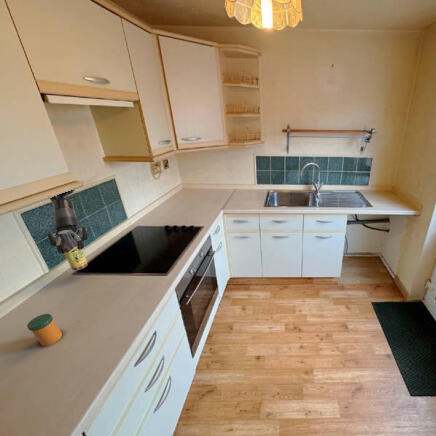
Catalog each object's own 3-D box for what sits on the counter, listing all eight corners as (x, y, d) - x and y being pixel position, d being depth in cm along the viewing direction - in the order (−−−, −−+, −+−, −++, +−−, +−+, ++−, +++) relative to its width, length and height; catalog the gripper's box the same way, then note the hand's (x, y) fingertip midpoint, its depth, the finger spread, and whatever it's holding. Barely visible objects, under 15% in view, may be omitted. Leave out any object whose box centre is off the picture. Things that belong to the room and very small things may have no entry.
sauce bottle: (82, 270, 110) (64, 235, 101) (68, 271, 110) (49, 236, 101) (92, 262, 116) (75, 228, 107) (79, 263, 115) (61, 228, 107)
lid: (31, 334, 76) (29, 330, 76) (27, 325, 79) (24, 322, 79) (55, 321, 81) (53, 318, 80) (50, 314, 84) (48, 311, 83)
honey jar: (43, 349, 80) (30, 331, 76) (39, 341, 83) (26, 323, 79) (64, 337, 84) (52, 319, 80) (59, 329, 87) (48, 312, 83)
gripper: (41, 220, 104) (46, 254, 100) (81, 213, 111) (87, 244, 107) (50, 225, 110) (55, 257, 107) (87, 218, 117) (93, 248, 113)
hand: (71, 251), depth 107 cm, fingers closed on sauce bottle, 6 cm apart
